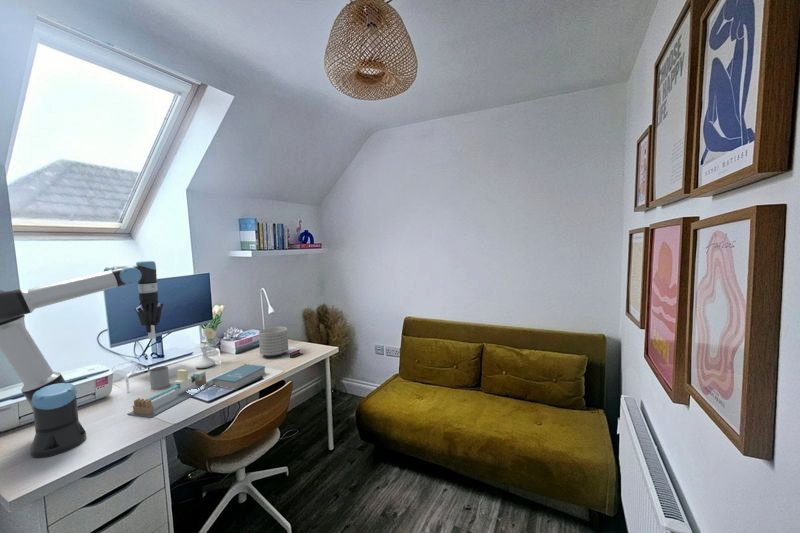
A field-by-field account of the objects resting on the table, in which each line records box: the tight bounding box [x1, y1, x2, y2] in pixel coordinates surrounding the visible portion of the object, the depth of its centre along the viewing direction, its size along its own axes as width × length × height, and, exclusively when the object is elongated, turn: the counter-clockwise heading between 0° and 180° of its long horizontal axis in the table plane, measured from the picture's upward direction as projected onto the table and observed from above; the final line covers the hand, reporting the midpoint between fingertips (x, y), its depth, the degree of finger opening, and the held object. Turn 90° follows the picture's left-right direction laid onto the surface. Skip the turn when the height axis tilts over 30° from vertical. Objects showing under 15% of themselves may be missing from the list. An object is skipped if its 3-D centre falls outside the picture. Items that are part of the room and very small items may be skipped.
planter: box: [258, 326, 289, 358], centre depth 229 cm, size 19×19×18 cm
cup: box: [149, 365, 170, 390], centre depth 181 cm, size 8×8×10 cm
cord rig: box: [127, 370, 213, 419], centre depth 165 cm, size 36×14×7 cm, turn 166°
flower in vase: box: [195, 327, 217, 369], centre depth 210 cm, size 13×11×25 cm
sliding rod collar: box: [173, 368, 192, 391], centre depth 170 cm, size 6×5×10 cm
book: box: [212, 363, 266, 391], centre depth 187 cm, size 23×16×5 cm
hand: (151, 338), depth 161 cm, fingers closed
